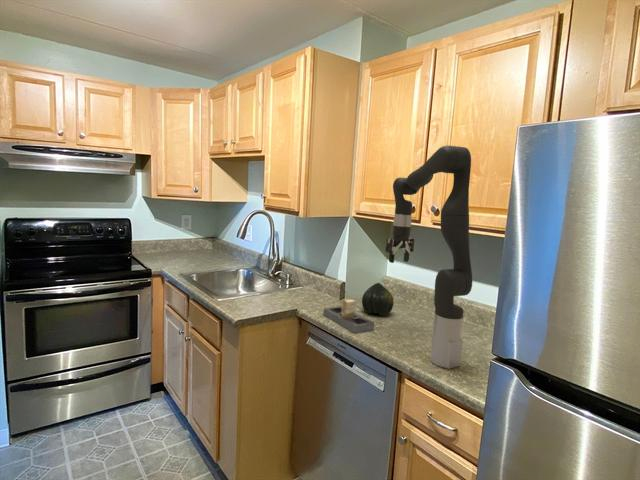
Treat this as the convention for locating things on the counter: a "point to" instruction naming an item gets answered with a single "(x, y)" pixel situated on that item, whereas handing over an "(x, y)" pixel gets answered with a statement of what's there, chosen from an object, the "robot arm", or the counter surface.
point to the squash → (377, 300)
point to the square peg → (348, 308)
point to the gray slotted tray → (349, 320)
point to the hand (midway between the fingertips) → (398, 262)
